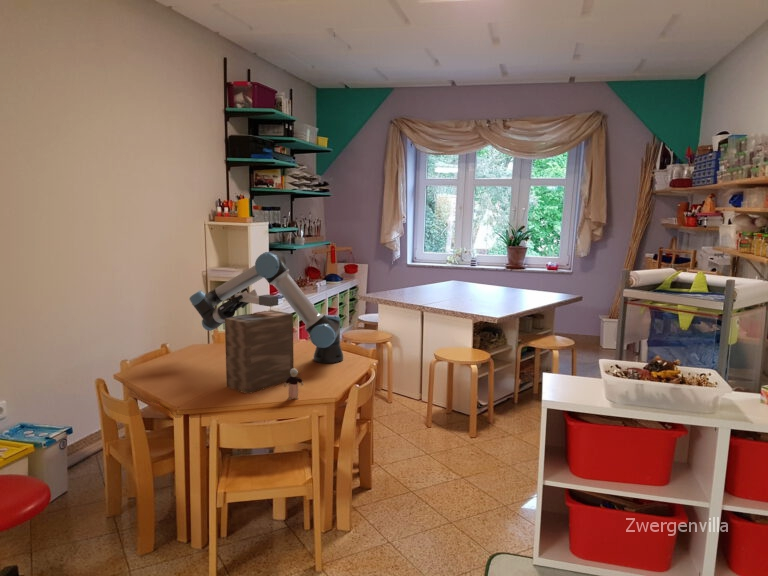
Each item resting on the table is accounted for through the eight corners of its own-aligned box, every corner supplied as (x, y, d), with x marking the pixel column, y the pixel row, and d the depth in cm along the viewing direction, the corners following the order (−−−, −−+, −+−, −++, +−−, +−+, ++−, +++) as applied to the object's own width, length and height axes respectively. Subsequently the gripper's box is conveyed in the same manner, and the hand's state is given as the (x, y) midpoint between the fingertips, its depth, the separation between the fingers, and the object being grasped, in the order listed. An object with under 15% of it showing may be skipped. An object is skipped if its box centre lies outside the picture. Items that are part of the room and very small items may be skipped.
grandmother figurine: (286, 401, 223) (285, 370, 221) (283, 398, 227) (283, 368, 225) (304, 398, 226) (304, 368, 224) (302, 396, 230) (301, 366, 228)
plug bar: (231, 300, 258) (231, 291, 257) (240, 298, 262) (240, 290, 261) (269, 306, 242) (269, 297, 241) (278, 305, 246) (278, 296, 245)
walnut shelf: (226, 386, 240) (224, 318, 236) (272, 373, 260) (271, 309, 256) (247, 393, 232) (246, 322, 227) (293, 379, 252) (293, 313, 248)
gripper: (241, 317, 272) (268, 297, 258) (211, 322, 259) (238, 302, 245) (236, 303, 274) (263, 283, 260) (206, 307, 260) (232, 287, 246)
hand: (251, 292), depth 252 cm, fingers closed on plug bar, 4 cm apart
